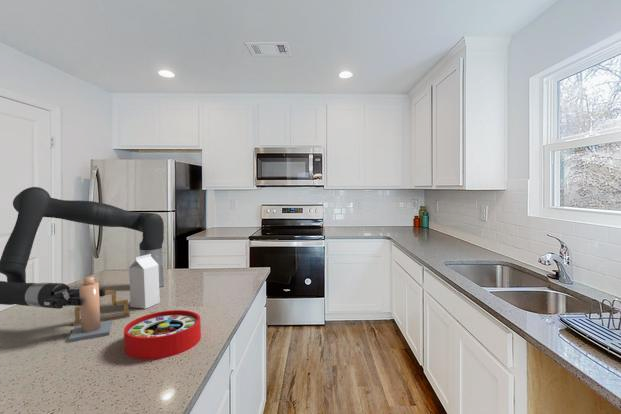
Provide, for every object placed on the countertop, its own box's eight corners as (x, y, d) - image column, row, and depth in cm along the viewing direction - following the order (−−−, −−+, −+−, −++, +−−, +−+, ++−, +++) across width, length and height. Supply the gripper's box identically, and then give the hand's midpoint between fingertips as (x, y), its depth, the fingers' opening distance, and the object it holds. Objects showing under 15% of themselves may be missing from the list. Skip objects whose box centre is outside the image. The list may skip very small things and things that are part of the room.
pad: (111, 323, 110) (111, 320, 110) (109, 335, 101) (109, 331, 101) (75, 329, 105) (74, 326, 105) (68, 342, 96) (68, 338, 96)
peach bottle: (101, 324, 106) (99, 274, 106) (99, 330, 102) (97, 278, 101) (82, 327, 104) (80, 277, 103) (80, 333, 100) (77, 280, 99)
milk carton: (160, 303, 129) (158, 254, 128) (145, 309, 122) (143, 258, 121) (145, 301, 131) (143, 253, 130) (130, 307, 125) (128, 256, 124)
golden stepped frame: (129, 314, 118) (128, 287, 117) (129, 316, 115) (128, 289, 115) (75, 322, 111) (73, 294, 110) (73, 325, 108) (71, 296, 108)
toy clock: (108, 339, 86) (144, 310, 106) (109, 361, 86) (145, 328, 106) (187, 337, 86) (208, 309, 106) (187, 359, 86) (209, 327, 106)
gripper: (24, 290, 98) (72, 292, 95) (67, 277, 112) (110, 278, 109) (26, 315, 98) (74, 318, 96) (68, 299, 112) (111, 301, 110)
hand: (93, 297), depth 102 cm, fingers open, 8 cm apart
